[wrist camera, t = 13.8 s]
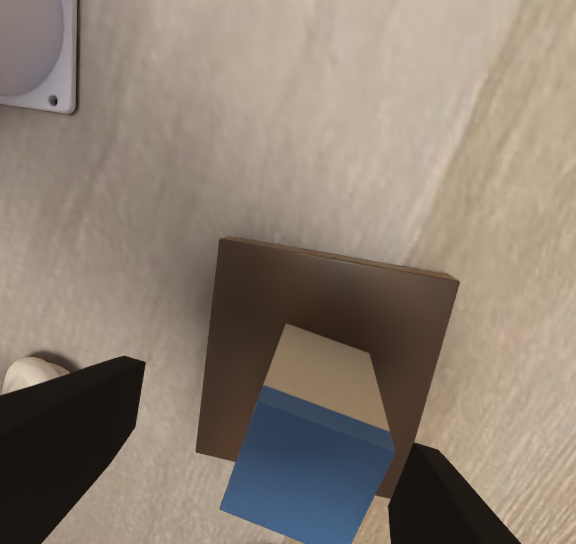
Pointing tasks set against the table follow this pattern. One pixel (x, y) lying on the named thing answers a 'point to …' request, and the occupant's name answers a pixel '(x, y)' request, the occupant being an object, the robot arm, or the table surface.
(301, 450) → the carton
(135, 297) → the table surface
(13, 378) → the figurine
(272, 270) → the board
